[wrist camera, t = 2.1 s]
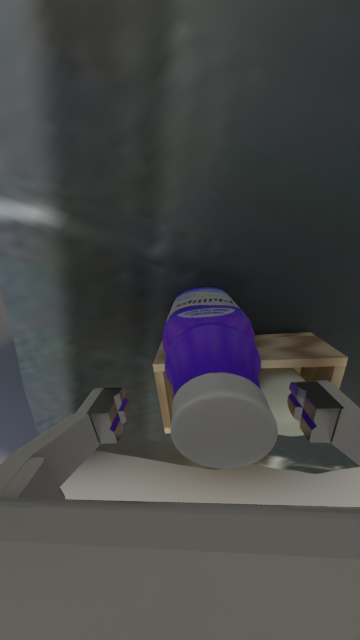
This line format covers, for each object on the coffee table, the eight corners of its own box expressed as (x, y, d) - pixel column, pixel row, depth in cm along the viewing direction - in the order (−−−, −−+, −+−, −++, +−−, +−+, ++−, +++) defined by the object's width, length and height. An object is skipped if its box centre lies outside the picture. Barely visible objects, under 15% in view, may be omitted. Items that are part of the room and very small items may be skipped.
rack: (310, 332, 23) (348, 357, 17) (298, 396, 26) (326, 435, 21) (162, 339, 25) (152, 364, 19) (170, 398, 29) (165, 433, 23)
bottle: (229, 282, 21) (341, 369, 5) (230, 324, 23) (313, 486, 7) (171, 288, 22) (108, 381, 6) (177, 328, 24) (141, 481, 8)
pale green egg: (293, 353, 23) (333, 392, 16) (288, 389, 25) (321, 436, 18) (247, 355, 23) (267, 393, 17) (245, 389, 26) (262, 435, 19)
